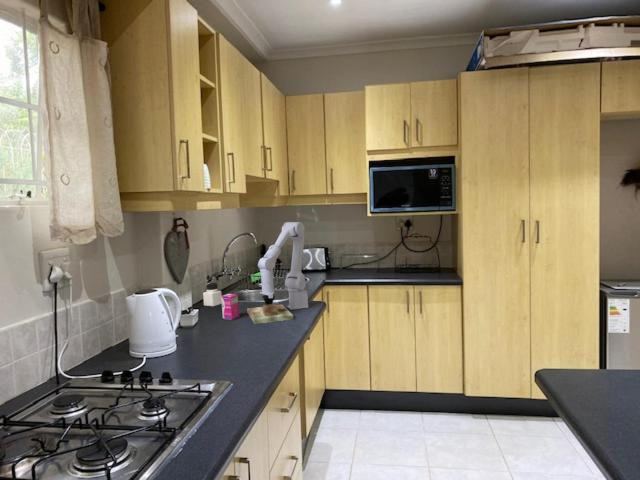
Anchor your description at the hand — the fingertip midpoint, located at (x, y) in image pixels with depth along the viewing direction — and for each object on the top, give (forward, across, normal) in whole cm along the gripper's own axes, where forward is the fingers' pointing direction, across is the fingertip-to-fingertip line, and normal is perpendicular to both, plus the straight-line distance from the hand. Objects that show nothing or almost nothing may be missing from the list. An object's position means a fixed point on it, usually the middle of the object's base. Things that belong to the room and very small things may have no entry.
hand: (269, 310), depth 223 cm
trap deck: (+3, 0, 0) cm, 3 cm away
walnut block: (+1, +4, 0) cm, 5 cm away
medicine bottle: (+3, -40, -24) cm, 47 cm away
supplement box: (+3, -4, -18) cm, 19 cm away
